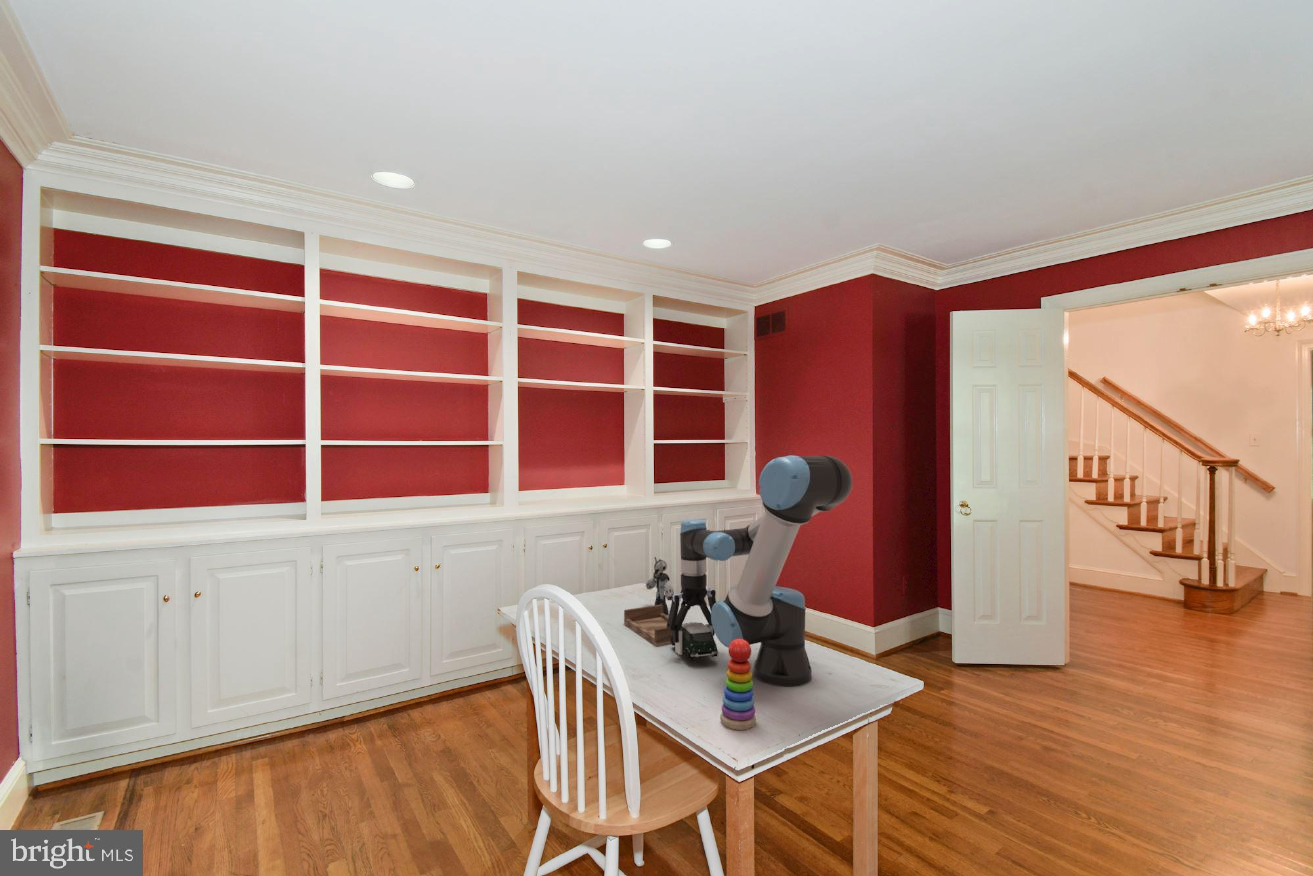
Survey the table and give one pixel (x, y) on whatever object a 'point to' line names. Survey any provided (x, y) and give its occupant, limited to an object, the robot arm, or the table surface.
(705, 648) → the miniature car
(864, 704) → the table surface
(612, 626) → the table surface
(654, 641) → the cradle
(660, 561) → the robot
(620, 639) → the table surface
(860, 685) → the table surface
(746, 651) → the stacking toy
